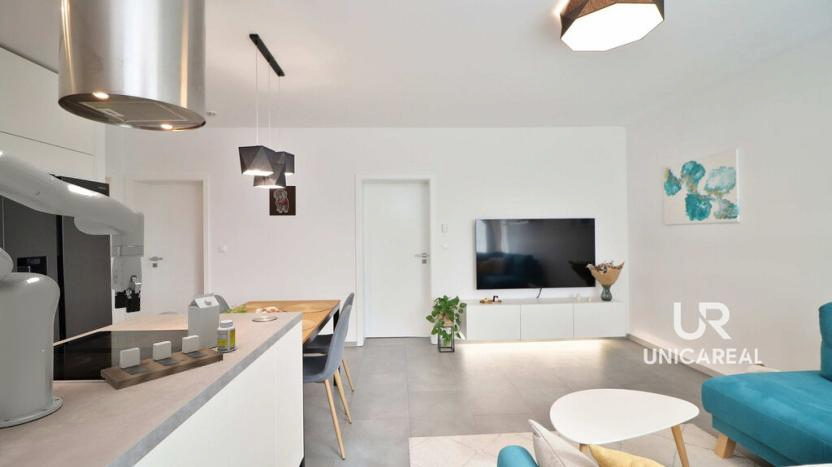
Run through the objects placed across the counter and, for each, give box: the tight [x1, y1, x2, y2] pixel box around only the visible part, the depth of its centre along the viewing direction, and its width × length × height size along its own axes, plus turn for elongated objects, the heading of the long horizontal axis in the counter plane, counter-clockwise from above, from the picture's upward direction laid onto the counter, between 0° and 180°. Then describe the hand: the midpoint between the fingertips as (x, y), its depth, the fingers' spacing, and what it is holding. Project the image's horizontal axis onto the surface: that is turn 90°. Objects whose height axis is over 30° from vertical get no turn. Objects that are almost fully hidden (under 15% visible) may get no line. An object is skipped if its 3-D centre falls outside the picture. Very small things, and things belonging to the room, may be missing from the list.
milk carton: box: [187, 292, 220, 349], centre depth 128 cm, size 7×7×19 cm
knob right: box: [181, 335, 199, 353], centre depth 116 cm, size 4×2×4 cm, turn 145°
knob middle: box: [152, 340, 172, 360], centre depth 109 cm, size 4×2×4 cm, turn 145°
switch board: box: [100, 346, 224, 390], centre depth 107 cm, size 27×14×2 cm, turn 145°
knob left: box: [119, 346, 141, 368], centre depth 103 cm, size 4×2×4 cm, turn 145°
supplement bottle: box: [216, 319, 236, 353], centre depth 124 cm, size 6×6×10 cm
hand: (127, 309), depth 105 cm, fingers open, 9 cm apart
